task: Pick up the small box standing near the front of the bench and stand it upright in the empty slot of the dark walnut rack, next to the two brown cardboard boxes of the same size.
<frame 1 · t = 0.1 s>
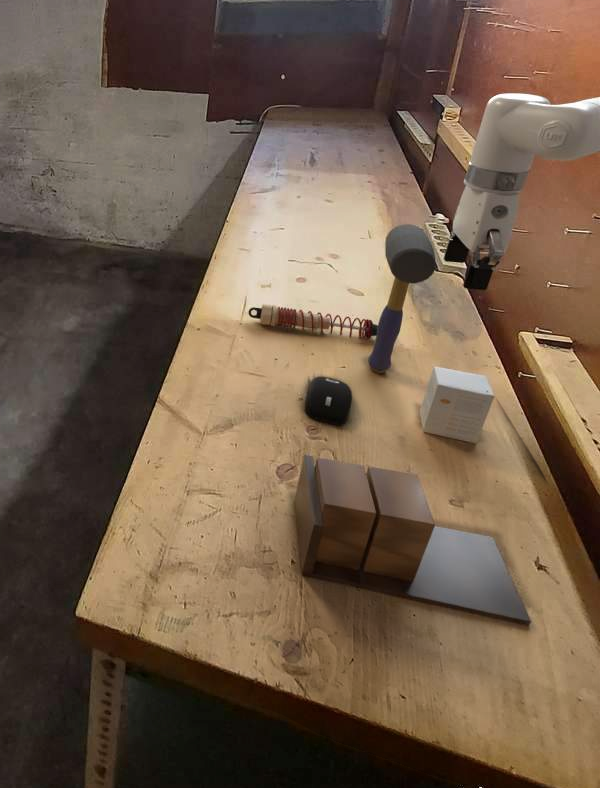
hand: (463, 274, 94), 26 cm above the table, tool pointing down, fingers open, 9 cm apart
small box: (446, 428, 98), on the table
shock absorber: (316, 331, 126), on the table
rubber mallet: (377, 370, 113), on the table
rack: (398, 557, 77), on the table
portable bluetooth speaker: (327, 403, 105), on the table
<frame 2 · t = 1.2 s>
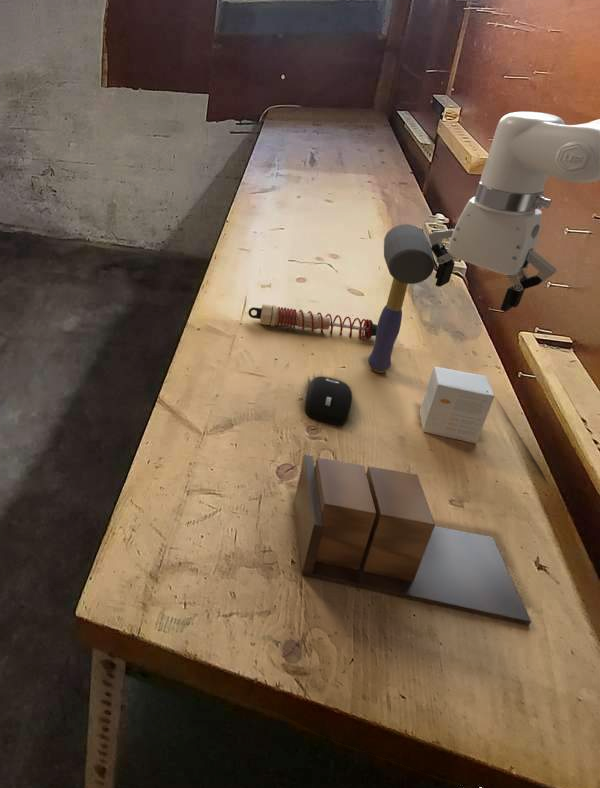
hand: (473, 295, 92), 24 cm above the table, tool pointing down, fingers open, 9 cm apart
nothing on the table moved.
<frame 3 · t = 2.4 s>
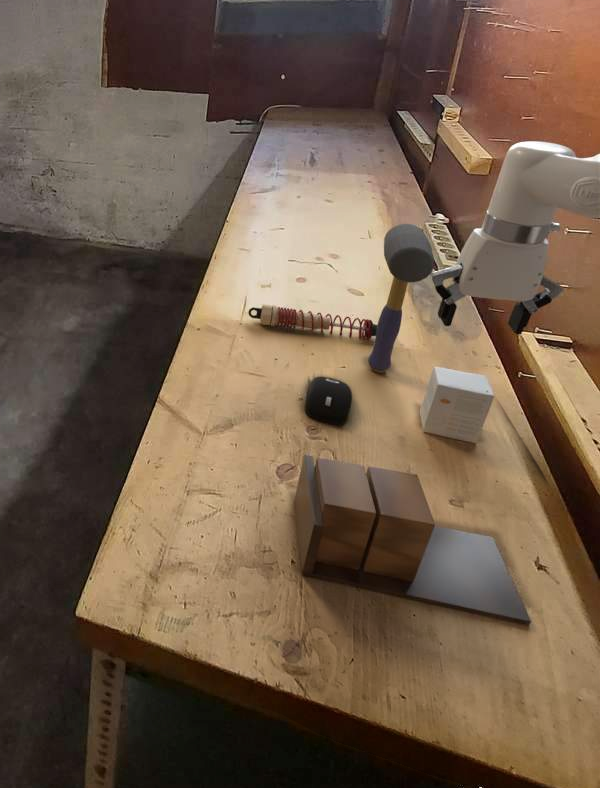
hand: (478, 325, 90), 21 cm above the table, tool pointing down, fingers open, 9 cm apart
nothing on the table moved.
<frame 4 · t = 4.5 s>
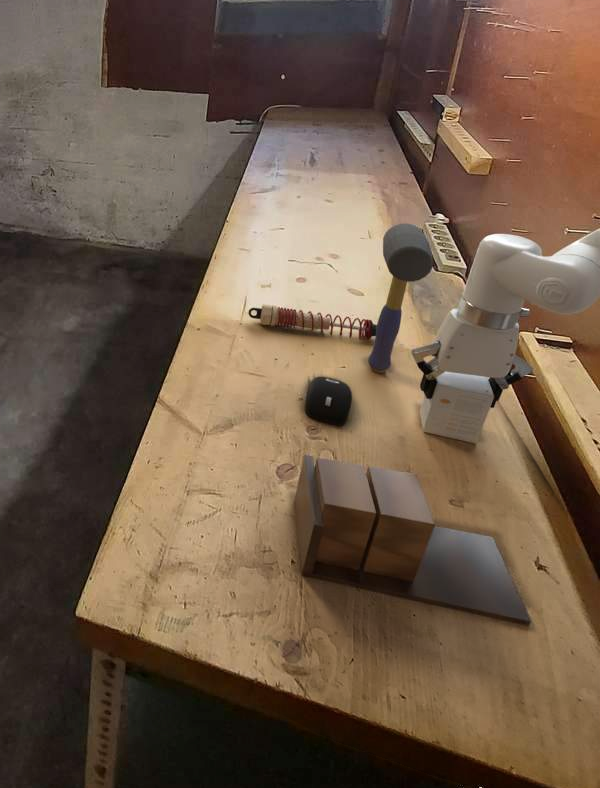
hand: (456, 397, 95), 7 cm above the table, tool pointing down, fingers closed on small box, 8 cm apart
small box: (446, 428, 98), on the table, touching gripper
everything else where it was.
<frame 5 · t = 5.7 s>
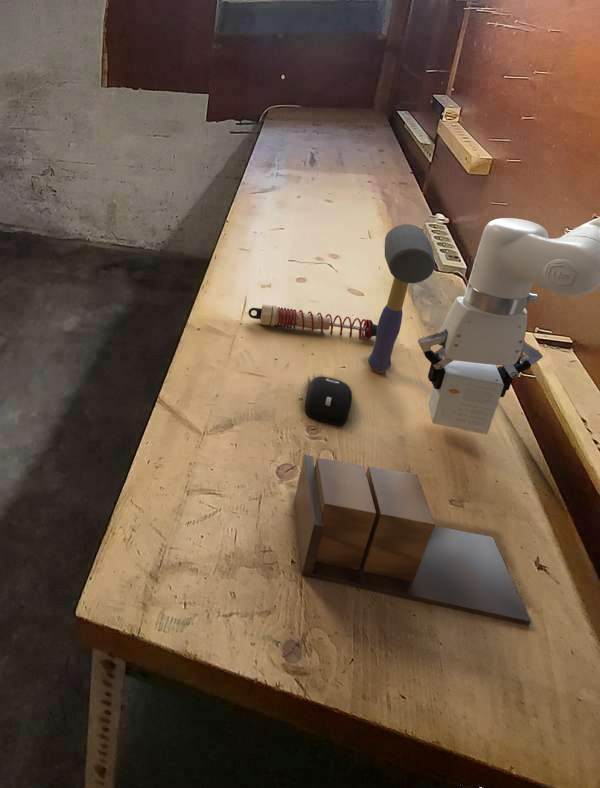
hand: (465, 387, 94), 9 cm above the table, tool pointing down, fingers closed on small box, 8 cm apart
small box: (455, 420, 97), point 2 cm above the table, touching gripper
everything else where it was.
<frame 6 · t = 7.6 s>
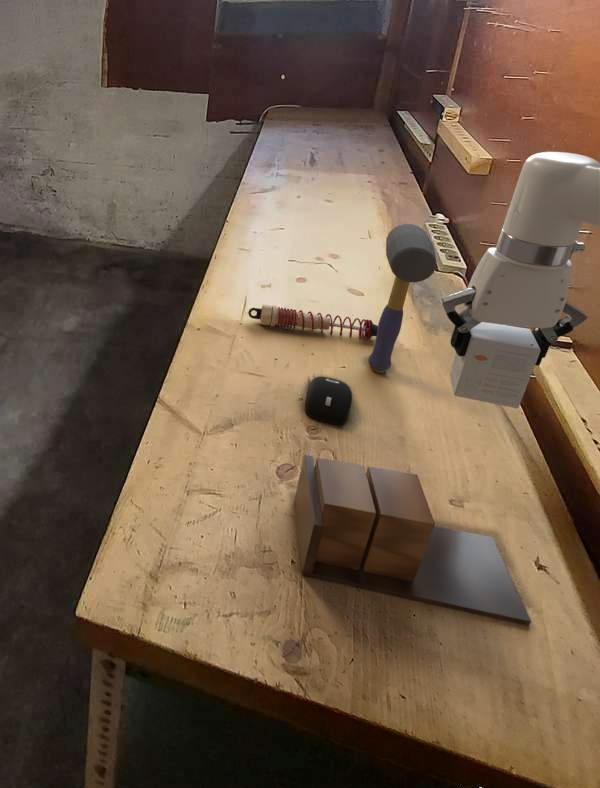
hand: (494, 355, 81), 22 cm above the table, tool pointing down, fingers closed on small box, 8 cm apart
small box: (481, 392, 84), point 15 cm above the table, touching gripper
everything else where it was.
when the fingers open (7 cm above the table, at t = 14.1 s): small box stays where it is, resting on rack.
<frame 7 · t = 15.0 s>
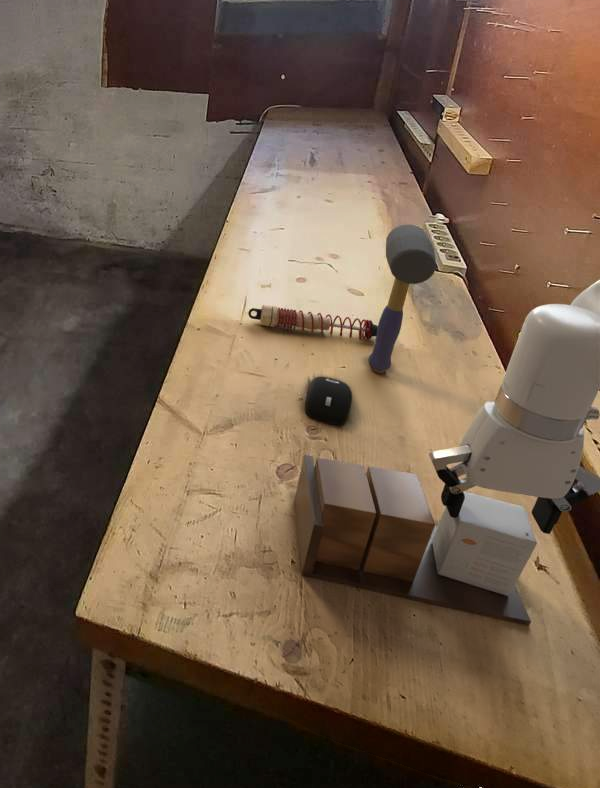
hand: (494, 515, 70), 11 cm above the table, tool pointing down, fingers open, 9 cm apart
small box: (467, 568, 75), point 1 cm above the table, touching gripper, rack
everything else where it was.
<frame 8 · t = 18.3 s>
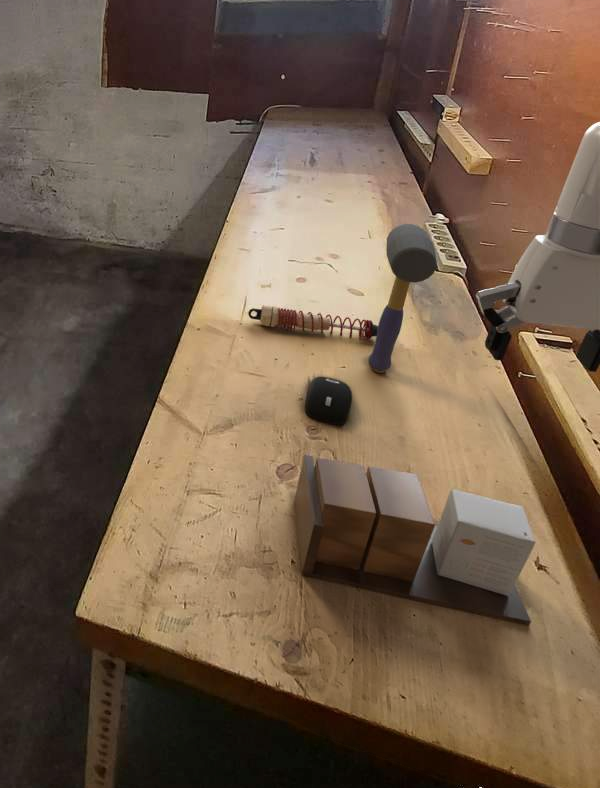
hand: (538, 359, 70), 28 cm above the table, tool pointing down, fingers open, 9 cm apart
small box: (467, 568, 75), point 1 cm above the table, touching rack
everything else where it was.
at the end: small box inside the target area on the rack (0.1 cm from its centre), point 0.6 cm above the rack's base; small box tilted 0° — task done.
